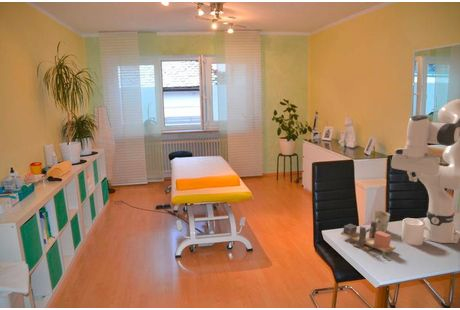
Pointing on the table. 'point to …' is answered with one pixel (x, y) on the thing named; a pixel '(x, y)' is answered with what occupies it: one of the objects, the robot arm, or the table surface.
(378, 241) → the salmon red rectangular block
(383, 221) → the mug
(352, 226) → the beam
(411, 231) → the mug
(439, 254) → the table surface
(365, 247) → the stand
